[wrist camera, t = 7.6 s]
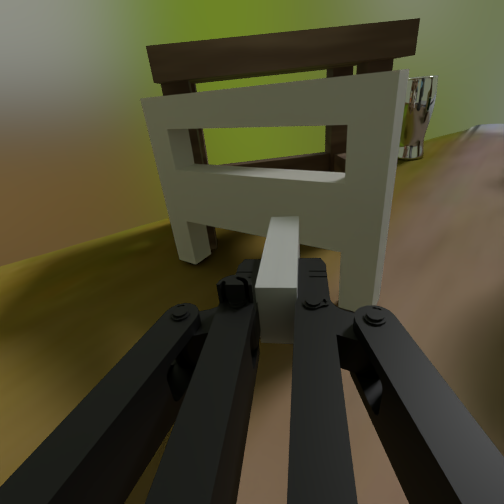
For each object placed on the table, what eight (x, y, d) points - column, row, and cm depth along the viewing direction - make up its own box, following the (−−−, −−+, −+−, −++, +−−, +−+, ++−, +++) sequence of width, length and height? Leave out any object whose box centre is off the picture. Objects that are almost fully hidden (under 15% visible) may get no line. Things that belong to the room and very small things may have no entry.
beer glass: (390, 153, 70) (399, 78, 62) (424, 153, 67) (438, 74, 60) (388, 160, 64) (398, 79, 57) (426, 160, 61) (441, 75, 54)
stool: (389, 239, 34) (419, 18, 24) (194, 266, 33) (145, 45, 23) (339, 196, 48) (346, 44, 38) (200, 215, 47) (171, 62, 37)
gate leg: (370, 316, 23) (399, 70, 15) (179, 259, 34) (140, 98, 26) (379, 298, 25) (409, 68, 17) (194, 249, 35) (162, 96, 28)
